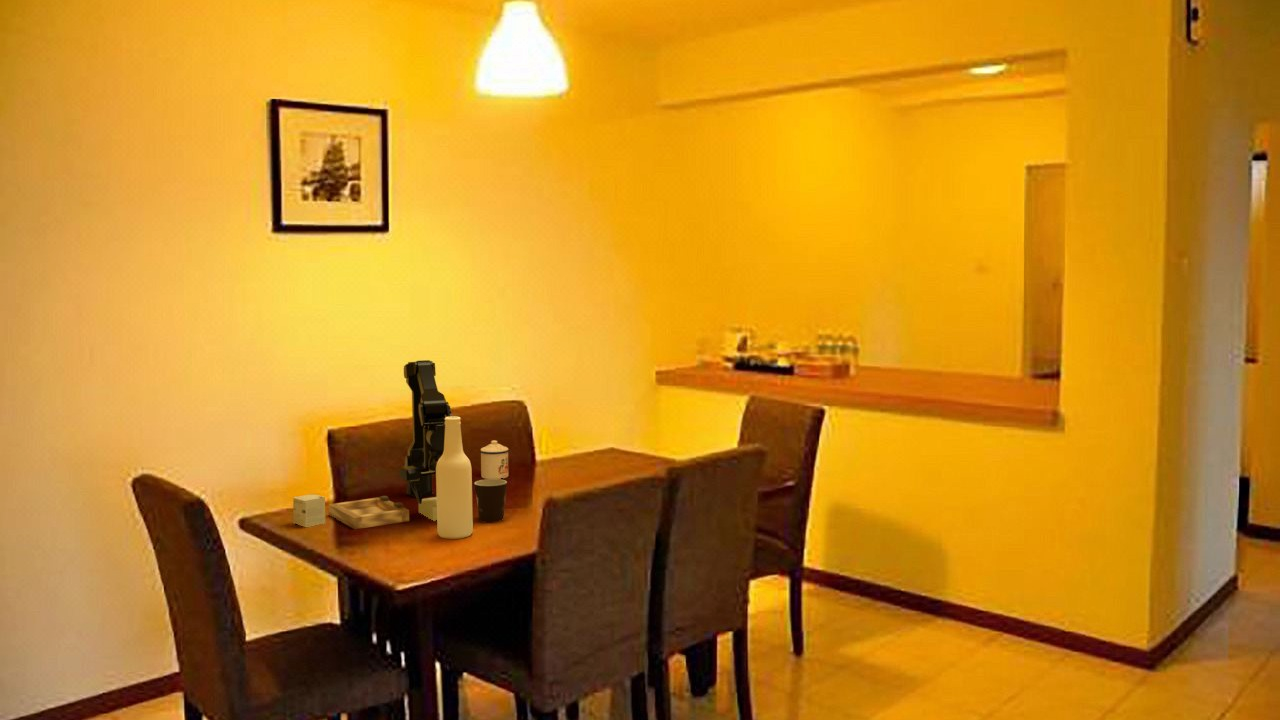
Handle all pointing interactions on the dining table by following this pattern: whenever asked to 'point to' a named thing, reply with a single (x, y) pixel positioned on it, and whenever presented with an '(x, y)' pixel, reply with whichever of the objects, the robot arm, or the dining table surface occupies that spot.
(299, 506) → the skincare box
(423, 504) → the cream rectangular block
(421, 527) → the dining table surface
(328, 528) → the dining table surface
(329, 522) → the dining table surface
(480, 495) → the coffee mug
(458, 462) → the alcohol
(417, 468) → the robot arm
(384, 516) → the carcass
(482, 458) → the teacup with lid
